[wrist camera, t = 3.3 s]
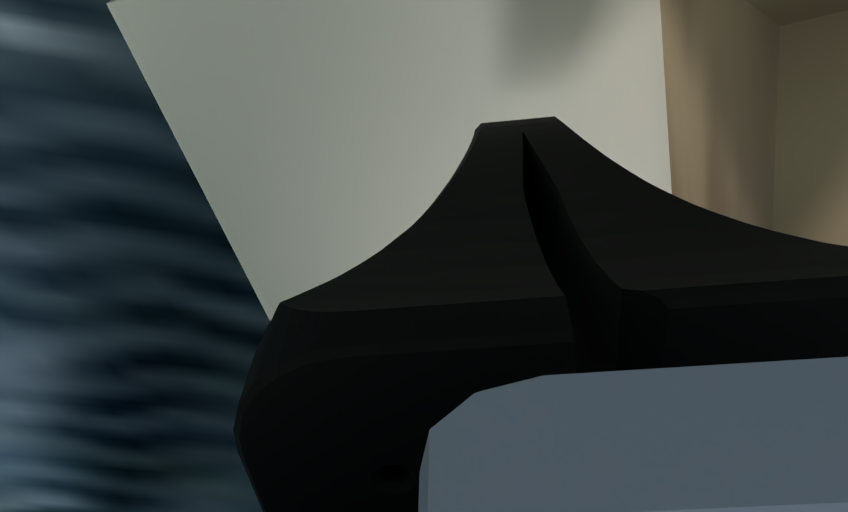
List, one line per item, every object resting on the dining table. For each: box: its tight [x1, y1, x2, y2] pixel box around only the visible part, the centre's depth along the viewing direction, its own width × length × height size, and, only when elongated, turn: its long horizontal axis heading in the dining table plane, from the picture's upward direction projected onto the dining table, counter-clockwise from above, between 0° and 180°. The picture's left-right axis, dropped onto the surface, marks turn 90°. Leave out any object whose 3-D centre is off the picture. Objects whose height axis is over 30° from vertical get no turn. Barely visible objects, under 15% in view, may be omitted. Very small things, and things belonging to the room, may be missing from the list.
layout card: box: [106, 0, 672, 321], centre depth 18 cm, size 26×24×1 cm
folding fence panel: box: [660, 0, 848, 246], centre depth 12 cm, size 10×1×5 cm, turn 15°
